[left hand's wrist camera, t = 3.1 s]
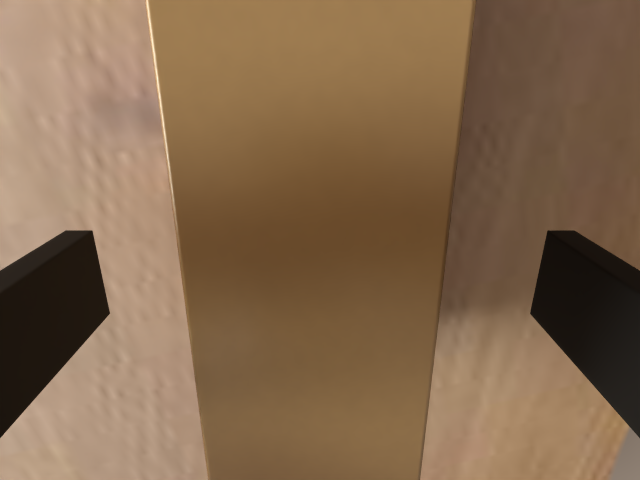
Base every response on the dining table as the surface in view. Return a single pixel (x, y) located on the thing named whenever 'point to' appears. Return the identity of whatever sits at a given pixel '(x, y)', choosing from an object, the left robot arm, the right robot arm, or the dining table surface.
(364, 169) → the bar
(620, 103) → the dining table surface
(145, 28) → the dining table surface
